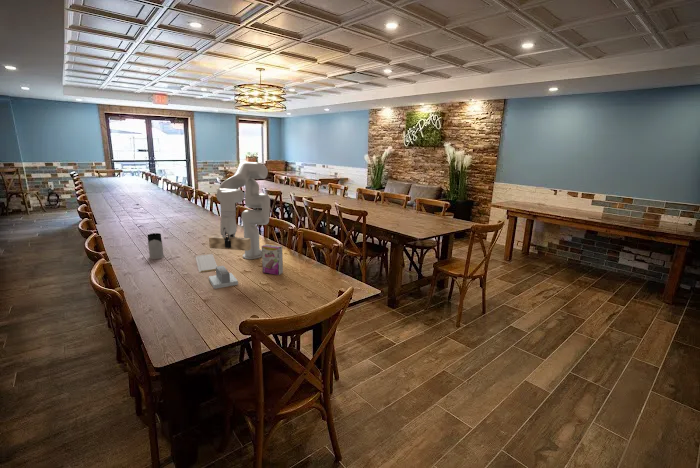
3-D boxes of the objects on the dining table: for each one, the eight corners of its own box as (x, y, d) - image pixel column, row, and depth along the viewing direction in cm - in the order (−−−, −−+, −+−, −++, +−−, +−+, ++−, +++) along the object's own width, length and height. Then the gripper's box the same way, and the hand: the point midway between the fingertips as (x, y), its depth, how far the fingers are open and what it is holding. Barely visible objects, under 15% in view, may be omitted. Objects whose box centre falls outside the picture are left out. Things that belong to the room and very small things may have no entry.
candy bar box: (262, 273, 200) (260, 246, 196) (266, 270, 204) (265, 243, 201) (278, 275, 196) (278, 248, 192) (283, 273, 201) (282, 246, 197)
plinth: (231, 276, 194) (230, 264, 192) (238, 284, 182) (237, 272, 181) (208, 279, 188) (207, 267, 186) (214, 288, 176) (213, 275, 174)
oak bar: (209, 248, 188) (208, 237, 187) (213, 246, 192) (212, 235, 191) (247, 250, 186) (247, 239, 184) (250, 248, 190) (250, 238, 188)
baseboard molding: (196, 273, 198) (218, 271, 203) (195, 269, 197) (218, 266, 202) (193, 258, 224) (212, 256, 230) (192, 254, 224) (212, 252, 229)
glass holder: (148, 259, 218) (145, 236, 214) (150, 253, 230) (148, 231, 227) (163, 258, 221) (161, 235, 218) (165, 252, 234) (163, 230, 230)
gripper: (229, 211, 193) (230, 242, 197) (213, 216, 177) (215, 250, 181) (241, 211, 192) (243, 243, 196) (227, 216, 176) (229, 251, 180)
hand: (230, 246), depth 189 cm, fingers closed on oak bar, 4 cm apart
